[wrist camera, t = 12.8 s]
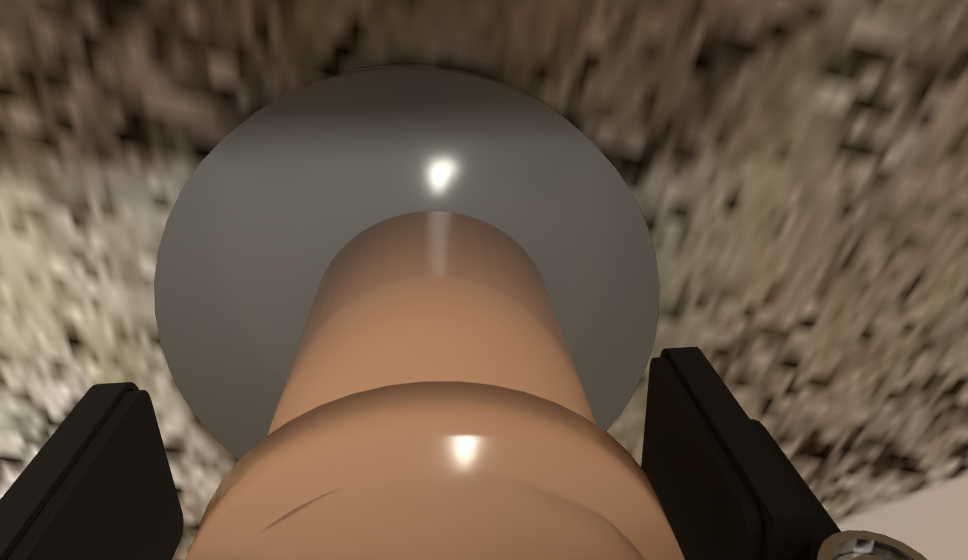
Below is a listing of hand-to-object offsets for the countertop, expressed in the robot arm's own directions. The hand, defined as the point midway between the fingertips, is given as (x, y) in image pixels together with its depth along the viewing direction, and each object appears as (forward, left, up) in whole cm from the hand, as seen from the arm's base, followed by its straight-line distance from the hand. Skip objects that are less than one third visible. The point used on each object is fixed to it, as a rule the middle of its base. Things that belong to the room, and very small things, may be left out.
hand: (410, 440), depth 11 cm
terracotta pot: (0, 0, -4) cm, 4 cm away
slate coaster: (0, 0, -5) cm, 5 cm away
